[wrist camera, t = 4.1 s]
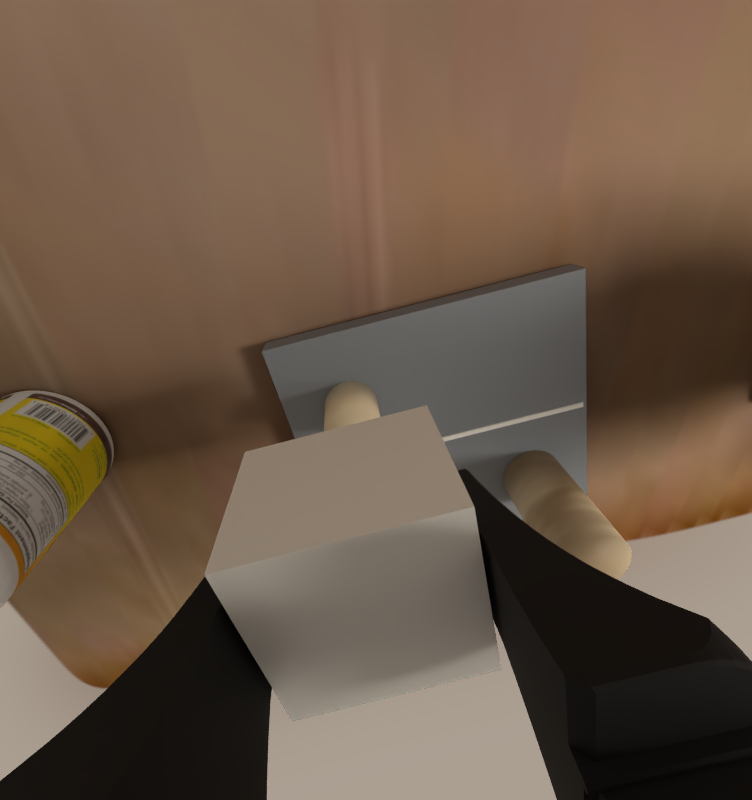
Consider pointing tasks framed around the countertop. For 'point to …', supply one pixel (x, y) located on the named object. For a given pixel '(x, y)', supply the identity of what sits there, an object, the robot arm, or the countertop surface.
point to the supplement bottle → (44, 475)
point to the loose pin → (564, 512)
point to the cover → (355, 565)
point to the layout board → (456, 373)
